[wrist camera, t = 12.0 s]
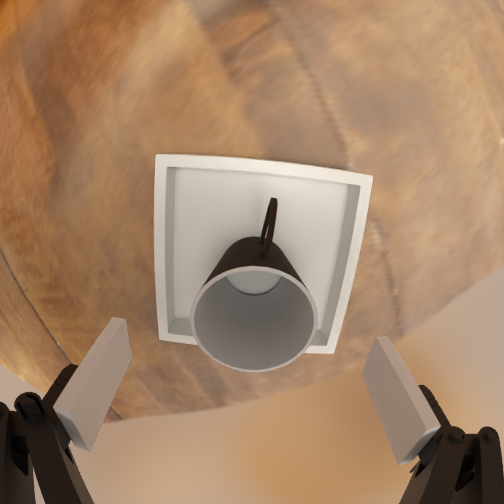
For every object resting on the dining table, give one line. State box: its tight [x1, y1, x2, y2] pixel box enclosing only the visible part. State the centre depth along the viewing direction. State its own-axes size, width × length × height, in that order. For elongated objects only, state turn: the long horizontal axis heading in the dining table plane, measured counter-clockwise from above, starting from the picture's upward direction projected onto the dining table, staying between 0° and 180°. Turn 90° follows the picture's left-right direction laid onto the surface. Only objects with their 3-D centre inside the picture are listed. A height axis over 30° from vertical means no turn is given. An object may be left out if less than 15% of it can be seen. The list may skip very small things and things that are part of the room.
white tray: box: [154, 154, 373, 354], centre depth 27 cm, size 18×18×4 cm
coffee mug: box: [190, 197, 318, 373], centre depth 24 cm, size 12×9×10 cm
